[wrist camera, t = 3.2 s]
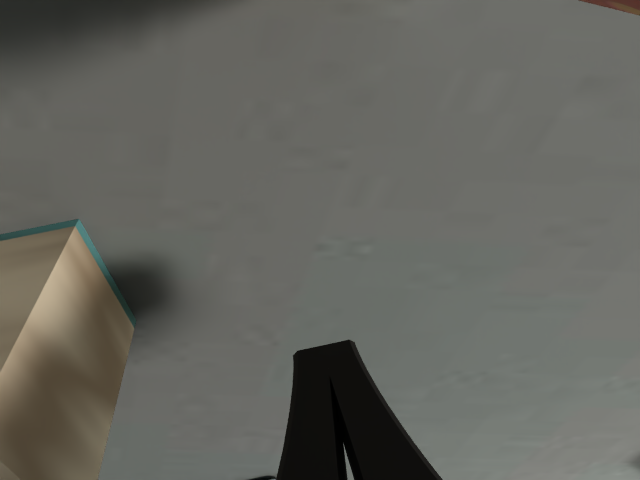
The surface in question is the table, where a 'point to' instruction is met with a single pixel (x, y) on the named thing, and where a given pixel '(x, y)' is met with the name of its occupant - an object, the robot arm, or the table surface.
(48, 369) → the beech block
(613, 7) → the small box
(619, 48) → the table surface
